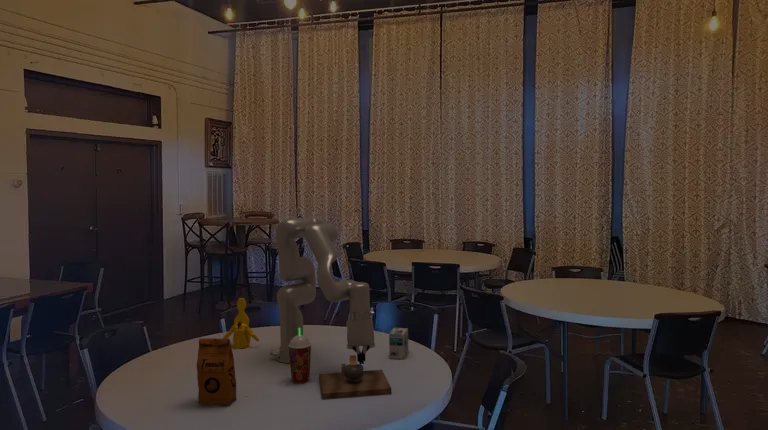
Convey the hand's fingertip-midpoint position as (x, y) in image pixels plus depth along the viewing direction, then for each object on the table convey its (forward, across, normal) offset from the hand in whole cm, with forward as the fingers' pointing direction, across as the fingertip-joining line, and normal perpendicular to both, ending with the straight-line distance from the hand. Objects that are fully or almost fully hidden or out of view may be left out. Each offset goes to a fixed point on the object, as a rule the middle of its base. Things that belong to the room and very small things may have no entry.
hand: (361, 363), depth 207 cm
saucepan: (+1, +3, +4) cm, 6 cm away
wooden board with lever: (+6, +4, +9) cm, 11 cm away
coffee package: (+5, +50, +15) cm, 53 cm away
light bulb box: (+6, -18, -24) cm, 31 cm away
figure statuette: (+5, +51, -50) cm, 71 cm away
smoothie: (+6, +23, -1) cm, 24 cm away
